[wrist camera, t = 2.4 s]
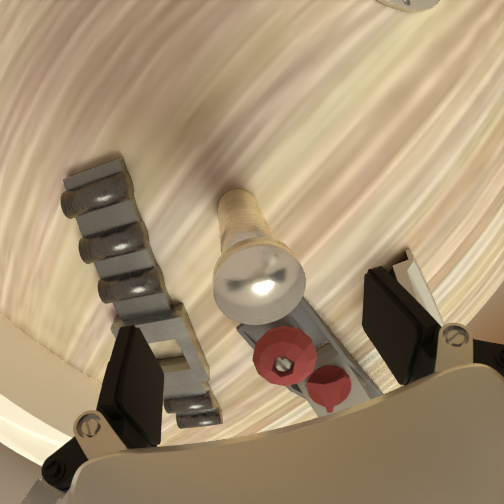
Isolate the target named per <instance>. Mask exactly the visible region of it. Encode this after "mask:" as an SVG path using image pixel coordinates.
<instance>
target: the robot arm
mask: <svg viewBox="0 0 504 504" xmlns="http://www.w3.org/2000/svg"><path fill="white" fill-rule="evenodd" d="M377 1H379V2H381V3H382V4H385V5H387V6H390V7H392V8H394V9H398V10H402V11H407V12H419V11H424V10H427V9H430V8H433V7H434V6H435V5H437V4H438V2H439V1H440V0H377ZM362 326H363V329H364V331H365V333H366V334H367V336H368V337H369V339H370V340H371V342H372V343H373V345H374V346H375V348H376V349H377V351H378V352H379V354H380V355H381V357H382V358H383V360H384V361H385V363H386V364H387V366H388V367H389V369H390V370H391V372H392V374H393V375H394V377H395V378H396V380H397V381H398V383H399V384H400V385H402V384H403V385H404V386H403V387H401V388H398V389H396V390H393V391H391V392H389V393H386V394H384V395H381V396H379V397H376V398H374V399H371V400H369V401H366V402H363V403H361V404H358V405H355V406H352V407H350V408H347V409H344V410H341V411H338V412H335V413H332V414H329V415H325V416H322V417H319V418H316V419H312V420H309V421H305V422H302V423H298V424H294V425H290V426H287V427H283V428H278V429H274V430H270V431H265V432H261V433H256V434H251V435H246V436H240V437H235V438H229V439H223V440H216V441H209V442H202V443H193V444H184V445H174V446H163V447H157V445H159V444H160V442H161V423H162V406H163V391H164V372H163V370H162V368H161V366H160V365H159V363H158V361H157V359H156V358H155V356H154V354H153V352H152V350H151V348H150V347H149V345H148V343H147V341H146V339H145V337H144V335H143V333H142V331H141V330H140V328H139V327H137V328H136V327H135V326H134V325H128V326H122V327H120V329H119V331H118V335H117V338H116V341H115V344H114V348H113V351H112V355H111V358H110V361H109V362H108V365H107V369H106V372H105V376H104V380H103V383H102V387H101V391H100V395H99V399H98V403H97V407H96V410H89V411H85V412H84V413H82V414H81V415H79V416H78V417H77V419H76V420H75V422H74V425H73V432H74V435H75V436H74V437H73V438H72V439H70V440H69V441H68V442H67V443H65V444H64V445H63V446H62V447H60V448H59V449H58V450H57V451H55V452H54V453H53V454H52V455H50V456H49V457H48V458H47V459H46V460H45V461H44V463H43V465H42V476H43V478H42V480H41V479H39V478H38V480H37V481H36V482H35V484H34V485H33V487H32V488H31V490H30V491H29V492H28V494H27V495H26V497H25V498H24V500H23V501H22V503H21V504H504V345H503V344H497V343H491V342H485V341H480V340H474V339H473V337H472V333H471V332H470V330H469V329H468V328H467V327H466V326H464V325H462V324H459V323H448V324H446V325H444V326H442V327H441V325H440V324H439V323H438V322H437V321H436V320H435V319H434V318H433V317H432V316H431V315H430V314H429V313H428V311H427V310H426V309H425V308H424V307H423V306H422V305H421V304H420V303H419V302H418V301H417V300H416V299H415V298H414V297H413V296H412V295H411V294H410V293H409V292H408V291H407V290H406V289H405V288H404V287H403V286H402V285H401V284H400V283H399V282H398V281H397V280H396V279H395V278H394V277H393V276H392V275H391V274H390V273H389V272H388V271H387V270H386V269H384V268H383V267H382V266H379V267H376V268H372V269H369V270H368V273H367V274H365V277H364V300H363V316H362Z"/></svg>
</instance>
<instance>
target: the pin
mask: <svg viewBox="0 0 504 504" xmlns="http://www.w3.org/2000/svg"><path fill="white" fill-rule="evenodd" d="M218 219H219V230H220V242H221V252H222V255H221V256H220V258H219V259H218V261H217V263H216V265H215V268H214V272H213V289H214V298H215V301H216V303H217V305H218V307H219V309H220V310H221V311H222V312H223V313H224V314H225V315H226V316H227V317H229V318H230V319H232V320H234V321H237V322H239V323H243V324H248V325H262V324H267V323H271V322H274V321H276V320H279V319H281V318H283V317H284V316H286V315H287V314H289V313H290V312H291V311H292V310H293V309H294V308H295V307H296V306H297V305H298V303H299V302H300V300H301V298H302V296H303V294H304V291H305V285H306V279H305V273H304V270H303V268H302V266H301V264H300V263H299V261H298V259H297V257H296V256H295V254H294V253H293V251H292V250H291V249H290V248H289V247H288V246H287V245H285V244H284V243H282V242H280V241H278V240H275V238H274V236H273V234H272V232H271V230H270V228H269V226H268V224H267V222H266V220H265V218H264V216H263V214H262V212H261V210H260V208H259V206H258V204H257V202H256V200H255V198H254V197H253V195H252V194H251V193H249V192H248V191H246V190H242V189H233V190H230V191H228V192H226V193H225V194H224V195H223V196H222V197H221V199H220V200H219V203H218Z"/></svg>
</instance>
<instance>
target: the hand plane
mask: <svg viewBox="0 0 504 504" xmlns="http://www.w3.org/2000/svg"><path fill="white" fill-rule="evenodd" d="M237 331H238V332H239V333H240V334H241V335H242V336H243V338H244V339H245V340H246V341H247V342H248V344H249V345H250V346H251V347H252V348H253V349H254V354H253V362H254V365H255V367H256V370H257V372H258V374H259V375H261V376H262V377H263V378H265V379H266V380H267V381H268V382H270V383H272V384H278V385H283V386H286V387H287V388H288V389H289V390H290V391H291V392H293V393H295V394H297V395H299V396H301V397H303V398H305V399H307V401H308V402H309V404H310V405H311V407H312V408H313V410H314V411H315V413H316V414H317V416H318V417H322V416H325V415H329V414H332V413H335V412H338V411H341V410H344V409H347V408H350V407H352V406H355V405H358V404H361V403H363V402H366V401H369V400H371V399H374V398H376V397H379V396H381V395H383V393H382V392H381V391H380V390H379V388H378V387H377V386H376V385H375V384H374V382H373V381H372V380H371V379H370V377H369V376H368V375H367V374H366V372H365V371H364V370H363V369H362V368H361V366H360V365H359V364H358V363H357V361H356V360H355V359H354V358H353V357H352V355H351V354H350V353H349V352H348V350H347V349H346V348H345V347H344V346H343V344H342V343H341V342H340V341H339V340H338V338H337V337H336V336H335V335H334V333H333V332H332V331H331V330H330V329H329V327H328V326H327V325H326V324H325V323H324V321H323V320H322V319H321V318H320V317H319V315H318V314H317V313H316V312H315V311H314V309H313V308H312V307H311V306H310V304H309V303H308V302H307V301H306V300H305V298H304V297H303V296H302V298H301V300H300V302H299V303H298V305H297V306H296V307H295V308H294V309H293V310H292V311H291V312H290V313H289V314H287V315H286V316H284V317H283V318H281V319H279V320H276V321H274V322H271V323H267V324H262V325H248V324H243V323H242V324H241V325H240V326H239V327H237ZM326 340H329V341H330V343H329V344H327V345H325V346H324V347H322V348H321V349H319V350H318V351H316V350H315V347H317V346H319V345H320V344H322V343H323V342H325V341H326Z"/></svg>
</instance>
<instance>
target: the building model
mask: <svg viewBox="0 0 504 504" xmlns="http://www.w3.org/2000/svg"><path fill="white" fill-rule="evenodd" d="M101 387H102V384H100V383H98V382H96V381H95V380H93V379H91V378H90V377H88V376H86V375H85V374H83V373H81V372H80V371H78V370H77V369H75V368H73V367H72V366H70V365H69V364H67V363H66V362H64V361H63V360H61V359H60V358H58V357H57V356H55V355H54V354H52V353H51V352H50V351H48V350H47V349H45V348H44V347H43V346H41V345H40V344H38V343H37V342H36V341H34V340H33V339H32V338H30V337H29V336H28V335H27V334H25V333H24V332H23V331H21V330H20V329H19V328H18V327H17V326H15V325H14V324H13V323H12V322H10V321H9V320H8V319H7V318H6V317H5V316H3V315H2V314H1V313H0V442H1V443H3V444H4V445H6V446H7V447H9V448H11V449H12V450H14V451H15V452H17V453H19V454H21V455H22V456H24V457H26V458H28V459H29V460H32V461H33V462H35V463H37V464H39V465H41V466H42V465H43V463H44V461H45V460H46V459H47V458H48V457H49V456H50V455H52V454H53V453H54V452H55V451H57V450H58V449H59V448H60V447H62V446H63V445H64V444H65V443H67V442H68V441H69V440H70V439H72V438H73V437H74V436H75V435H74V432H73V425H74V422H75V420H76V419H77V417H78V416H79V415H81V414H82V413H84V412H85V411H89V410H96V407H97V403H98V399H99V395H100V391H101Z"/></svg>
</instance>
